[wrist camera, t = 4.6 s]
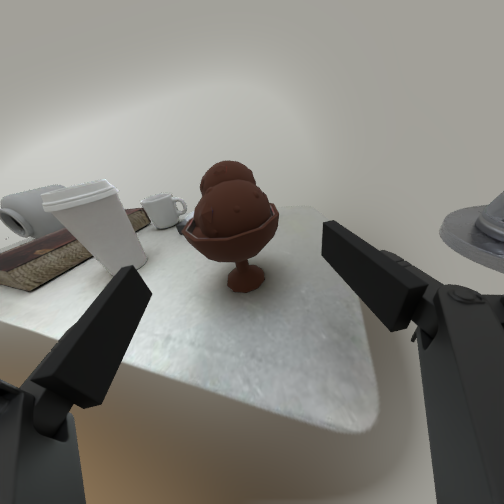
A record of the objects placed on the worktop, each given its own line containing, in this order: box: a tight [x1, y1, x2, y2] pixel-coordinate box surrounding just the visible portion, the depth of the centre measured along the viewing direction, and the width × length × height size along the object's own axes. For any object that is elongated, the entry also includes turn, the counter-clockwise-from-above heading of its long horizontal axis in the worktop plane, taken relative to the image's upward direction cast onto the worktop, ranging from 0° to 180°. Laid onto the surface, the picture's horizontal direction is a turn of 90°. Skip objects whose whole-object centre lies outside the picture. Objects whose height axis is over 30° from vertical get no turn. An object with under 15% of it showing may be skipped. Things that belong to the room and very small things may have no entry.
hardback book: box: [0, 208, 151, 291], centre depth 45 cm, size 29×19×5 cm, turn 161°
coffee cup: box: [41, 179, 147, 276], centre depth 30 cm, size 10×10×15 cm
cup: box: [140, 193, 187, 229], centre depth 48 cm, size 11×8×8 cm
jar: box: [0, 185, 66, 239], centre depth 57 cm, size 19×15×25 cm
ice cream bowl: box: [181, 161, 279, 293], centre depth 21 cm, size 11×11×15 cm
